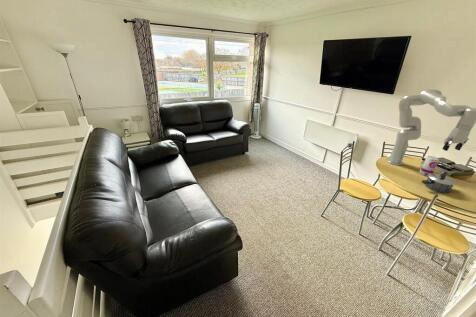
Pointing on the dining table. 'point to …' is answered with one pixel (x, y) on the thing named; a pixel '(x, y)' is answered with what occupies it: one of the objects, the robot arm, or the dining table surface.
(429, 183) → the pot
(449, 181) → the lid
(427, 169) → the supplement can
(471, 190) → the dining table surface
